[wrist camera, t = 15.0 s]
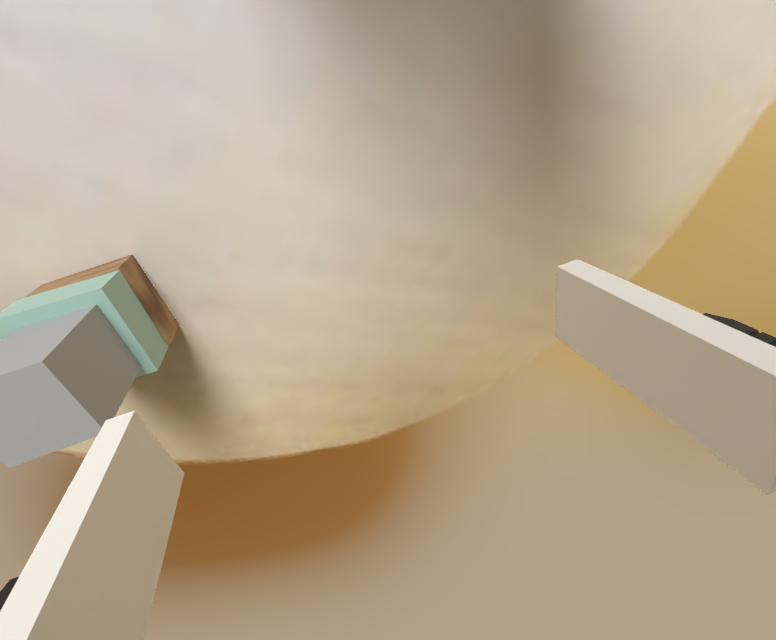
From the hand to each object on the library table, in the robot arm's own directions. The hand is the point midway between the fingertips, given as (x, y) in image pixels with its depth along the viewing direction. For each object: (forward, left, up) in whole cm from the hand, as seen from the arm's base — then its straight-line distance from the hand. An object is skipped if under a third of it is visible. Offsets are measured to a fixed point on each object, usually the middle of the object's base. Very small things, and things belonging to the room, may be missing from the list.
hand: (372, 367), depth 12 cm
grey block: (+5, -20, -21) cm, 29 cm away
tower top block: (+4, -20, -25) cm, 33 cm away
